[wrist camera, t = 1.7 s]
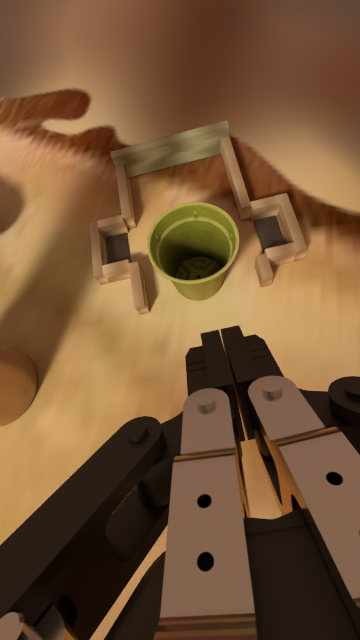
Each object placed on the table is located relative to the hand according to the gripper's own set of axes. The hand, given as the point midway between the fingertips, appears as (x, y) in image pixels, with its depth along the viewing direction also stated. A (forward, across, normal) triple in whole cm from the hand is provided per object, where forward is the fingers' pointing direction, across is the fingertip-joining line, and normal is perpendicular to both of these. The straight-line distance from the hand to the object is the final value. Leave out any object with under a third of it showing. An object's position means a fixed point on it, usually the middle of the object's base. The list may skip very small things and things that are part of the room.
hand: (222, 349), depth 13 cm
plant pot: (+28, 0, +6) cm, 28 cm away
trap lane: (+33, 0, 0) cm, 33 cm away
